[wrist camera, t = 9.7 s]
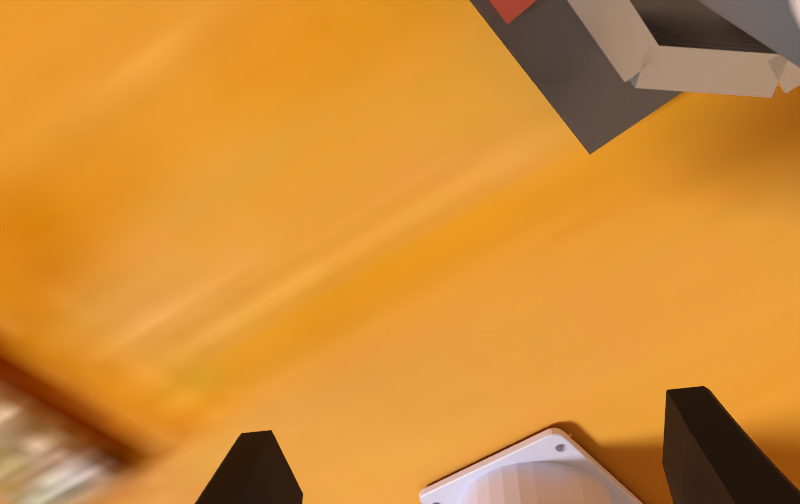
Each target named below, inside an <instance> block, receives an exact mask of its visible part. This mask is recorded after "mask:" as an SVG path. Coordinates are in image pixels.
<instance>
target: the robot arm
mask: <svg viewBox="0 0 800 504" xmlns="http://www.w3.org/2000/svg"><path fill="white" fill-rule="evenodd" d="M662 464H663V467H664V471H665V474H666V478H667V481H668V485H669V489H670V492H671V496H672V499H673V502H674V504H800V491H799V490H798V489H797V488H796V487H795V486H794V485H793V484H792V483H791V482H790V481H789V480H788V479H787V478H786V476H785V475H784V474H783V473H782V472H781V471H780V470H779V469H778V468H777V467H776V466H775V465H774V464H773V463H772V462H771V461H770V459H769V458H768V457H767V456H766V455H765V454H764V453H763V452H762V451H761V449H760V448H759V447H758V446H757V445H756V444H755V443H754V442H753V441H752V439H751V438H750V437H749V436H748V435H747V434H746V433H745V432H744V430H743V429H742V428H741V427H740V426H739V425H738V423H737V422H736V421H735V420H734V419H733V418H732V416H731V415H730V414H729V413H728V412H727V410H726V409H725V408H724V407H723V406H722V404H721V403H720V402H719V401H718V400H717V398H716V397H715V396H714V395H713V393H712V392H711V391H710V390H709V389H707V388H706V387H704V386H700V387H690V388H681V389H671V390H666V408H665V426H664V443H663V461H662ZM302 499H303V493H302V491H301V489H300V487H299V485H298V483H297V481H296V479H295V477H294V475H293V473H292V471H291V469H290V467H289V465H288V463H287V461H286V459H285V457H284V455H283V453H282V451H281V449H280V447H279V444H278V442H277V440H276V438H275V436H274V434H273V432H272V430H269V431H259V432H249V433H241V435H240V436H239V437H238V439H237V440H236V442H235V443H234V445H233V446H232V448H231V449H230V451H229V452H228V454H227V455H226V457H225V458H224V460H223V461H222V463H221V464H220V466H219V468H218V469H217V471H216V472H215V474H214V475H213V477H212V478H211V480H210V481H209V483H208V484H207V486H206V487H205V489H204V490H203V492H202V493H201V495H200V497H199V498H198V500H197V501H196V503H195V504H302ZM419 499H420V502H421V503H422V504H643V503H642V502H641V501H640V500H638V499H637V498H636V497H635V496H634V495H633V494H632V493H631V492H630V491H629V490H628V489H626V488H625V487H624V486H623V485H622V484H621V483H620V482H619V481H618V480H617V479H616V478H614V477H613V476H612V475H611V474H610V473H609V472H608V471H607V470H606V469H605V468H603V467H602V466H601V465H600V464H599V463H598V462H597V461H596V460H595V459H594V458H593V457H591V456H590V455H589V454H588V453H587V452H586V451H585V450H584V449H583V448H582V447H580V446H579V445H578V444H577V443H576V442H575V441H574V440H573V439H572V438H571V437H570V436H568V435H567V434H566V433H565V432H564V431H563V430H561V429H558V428H550V429H547V430H545V431H543V432H541V433H539V434H537V435H535V436H532V437H530V438H528V439H526V440H524V441H522V442H520V443H518V444H516V445H514V446H512V447H510V448H508V449H505V450H503V451H501V452H499V453H497V454H495V455H493V456H491V457H489V458H487V459H485V460H483V461H480V462H478V463H476V464H474V465H472V466H470V467H468V468H466V469H464V470H462V471H460V472H458V473H456V474H453V475H451V476H449V477H447V478H445V479H443V480H441V481H439V482H437V483H435V484H433V485H431V486H428V487H426V488H424V489H423V490H421V491H420V497H419Z"/></svg>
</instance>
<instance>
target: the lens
mask: <svg viewBox="0 0 800 504" xmlns="http://www.w3.org/2000/svg"><path fill="white" fill-rule="evenodd" d="M697 1H699V2H700V3H702V4H703V5H705V6H706V7H708V8H710V9H711V10H713V11H714V12H716V13H717V14H719V15H720V16H722V17H723V18H725V19H726V20H728V21H729V22H731V23H732V24H734V25H735V26H737V27H738V28H740V29H741V30H743V31H744V32H746V33H747V34H749V35H751V36H752V37H754V38H755V39H757V40H758V41H760V42H761V43H763V44H764V45H766V46H767V47H769V48H770V49H772V50H773V51H775V52H776V53H778V54H779V55H781V56H782V57H784V58H785V59H787V60H789V61H790V62H792V63H793V64H795V65H796V66H798V67H799V68H800V0H697Z"/></svg>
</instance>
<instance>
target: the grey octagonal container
mask: <svg viewBox="0 0 800 504" xmlns="http://www.w3.org/2000/svg"><path fill="white" fill-rule="evenodd" d="M470 1H471V3H472V4H473V5H474V6H475V8H476V9H477V10H478V12H479V13H480V14H481V15H482V17H483V18H484V19H485V21H486V22H487V23H488V24H489V26H490V27H491V28H492V30H493V31H494V32H495V33H496V35H497V36H498V37H499V39H500V40H501V41H502V42H503V44H504V45H505V46H506V48H507V49H508V50H509V51H510V53H511V54H512V55H513V56H514V58H515V59H516V60H517V62H518V63H519V64H520V65H521V67H522V68H523V69H524V71H525V72H526V73H527V74H528V76H529V77H530V78H531V80H532V81H533V82H534V83H535V85H536V86H537V87H538V89H539V90H540V91H541V92H542V94H543V95H544V96H545V98H546V99H547V100H548V101H549V103H550V104H551V105H552V106H553V108H554V109H555V110H556V112H557V113H558V114H559V115H560V117H561V118H562V119H563V121H564V122H565V123H566V124H567V126H568V127H569V128H570V130H571V131H572V132H573V133H574V135H575V136H576V137H577V139H578V140H579V141H580V142H581V144H582V145H583V146H584V148H585V149H586V150H587V151H588V153H589V154H591V153H593V152H594V151H596V150H597V149H599V148H600V147H602V146H603V145H605V144H606V143H608V142H609V141H611V140H612V139H613V138H615V137H616V136H618V135H619V134H621V133H622V132H624V131H625V130H627V129H628V128H630V127H631V126H633V125H634V124H636V123H637V122H639V121H640V120H642V119H643V118H645V117H646V116H648V115H649V114H650V113H652V112H653V111H655V110H656V109H658V108H659V107H661V106H662V105H664V104H665V103H667V102H668V101H670V100H671V99H673V98H674V97H676V96H677V95H679V94H680V93H682V92H683V91H684V92H698V93H712V94H726V95H740V96H754V97H768V98H772V96H773V94H774V91H775V89H776V87H777V88H779V89H780V90H781V91H782V92H784V93H785V94H786V93H788V92H789V91H791V90H793V89H794V88H796V87H797V86H799V85H800V68H799V67H798V66H796V65H795V64H793V63H792V62H790V61H789V60H787V59H785V58H784V57H782V56H781V55H779V54H778V53H776V52H775V51H773V50H772V49H770V48H769V47H767V46H766V45H764V44H763V43H761V42H760V41H758V40H757V39H755V38H754V37H752V36H751V35H749V34H747V33H746V32H744V31H743V30H741V29H740V28H738V27H737V26H735V25H734V24H732V23H731V22H729V21H728V20H726V19H725V18H723V17H722V16H720V15H719V14H717V13H716V12H714V11H713V10H711V9H710V8H708V7H706V6H705V5H703V4H702V3H700V2H699V1H697V0H470Z"/></svg>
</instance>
